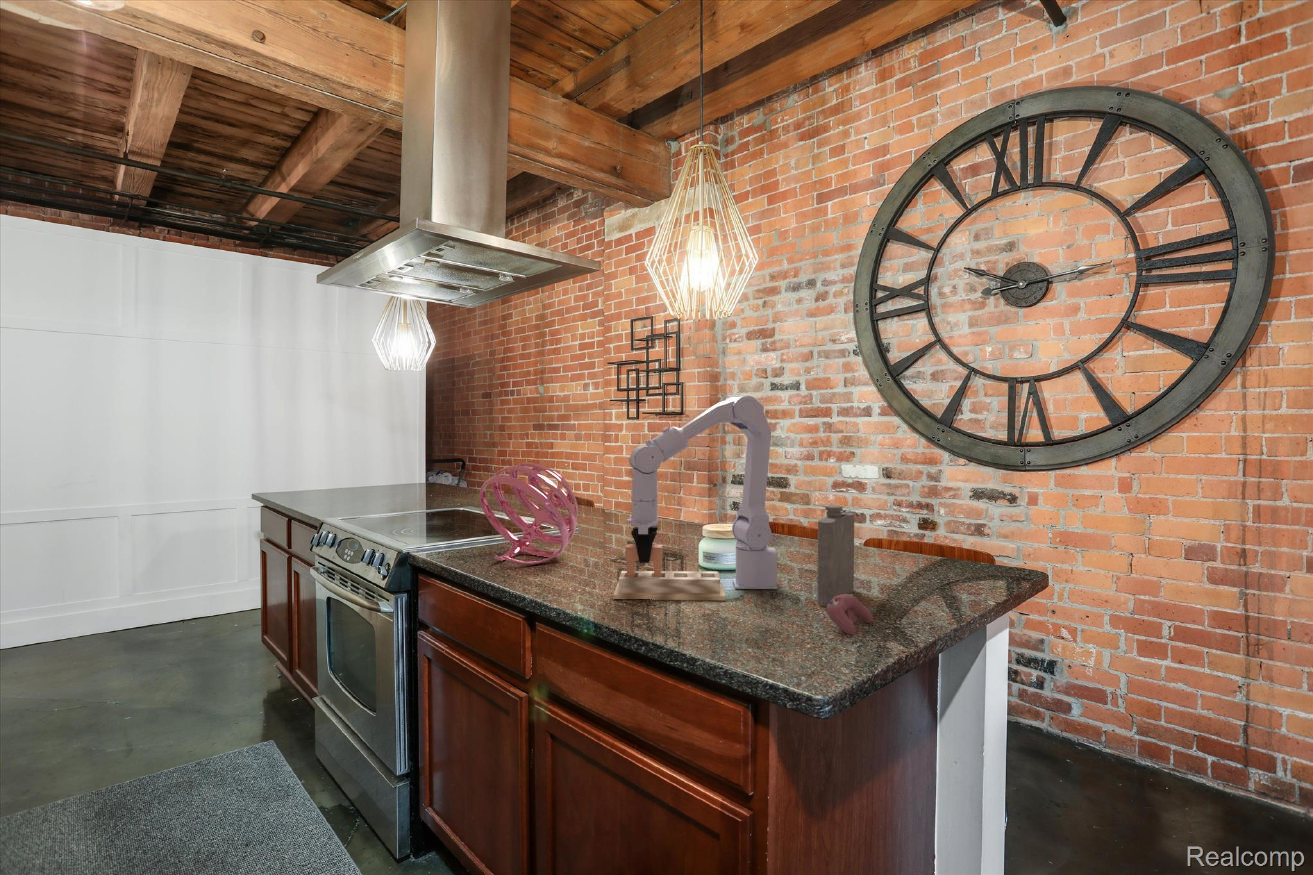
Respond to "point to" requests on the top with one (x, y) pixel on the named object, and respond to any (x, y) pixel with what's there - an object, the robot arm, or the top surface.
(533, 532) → the spiral basket
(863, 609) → the video game controller
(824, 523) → the hip flask
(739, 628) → the top surface
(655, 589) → the cream wooden flat frame
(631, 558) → the clip
